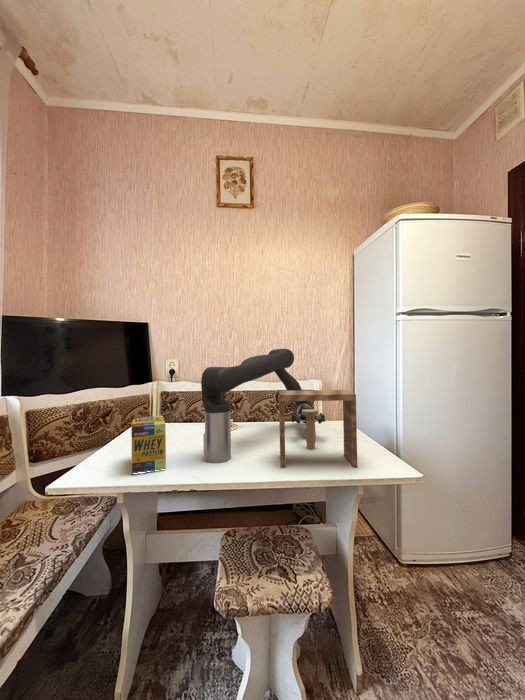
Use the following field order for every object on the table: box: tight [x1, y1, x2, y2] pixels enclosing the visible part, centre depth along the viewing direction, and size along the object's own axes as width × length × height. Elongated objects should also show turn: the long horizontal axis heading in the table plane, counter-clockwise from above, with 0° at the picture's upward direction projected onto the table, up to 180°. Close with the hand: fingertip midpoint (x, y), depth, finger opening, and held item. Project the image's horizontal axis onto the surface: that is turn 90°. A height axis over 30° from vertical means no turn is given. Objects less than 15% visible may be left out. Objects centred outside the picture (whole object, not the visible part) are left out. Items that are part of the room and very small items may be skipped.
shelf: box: [278, 389, 358, 469], centre depth 103 cm, size 25×12×24 cm, turn 88°
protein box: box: [130, 415, 167, 474], centre depth 103 cm, size 10×15×16 cm
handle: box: [302, 408, 319, 450], centre depth 118 cm, size 5×6×15 cm
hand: (309, 421), depth 122 cm, fingers open, 8 cm apart
